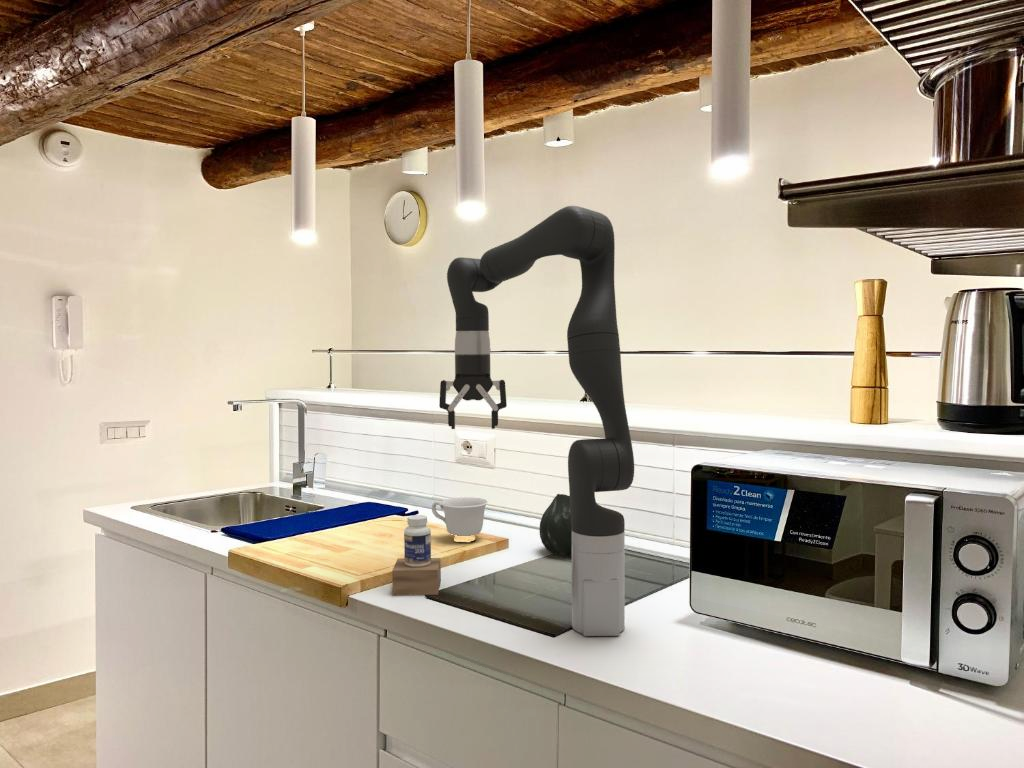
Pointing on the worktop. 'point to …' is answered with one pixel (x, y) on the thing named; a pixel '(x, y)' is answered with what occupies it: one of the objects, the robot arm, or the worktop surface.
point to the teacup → (462, 515)
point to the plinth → (416, 578)
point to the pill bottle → (417, 542)
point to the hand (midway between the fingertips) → (473, 428)
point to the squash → (557, 526)
